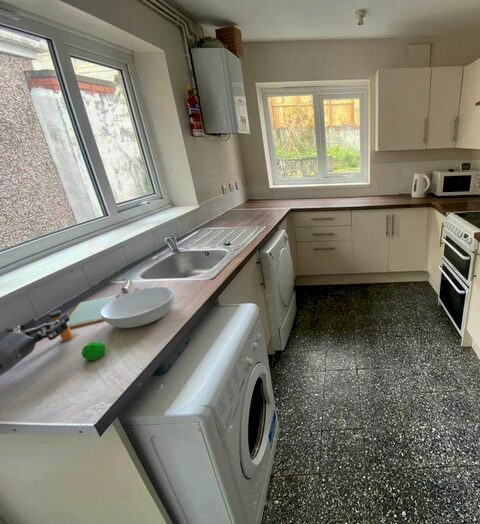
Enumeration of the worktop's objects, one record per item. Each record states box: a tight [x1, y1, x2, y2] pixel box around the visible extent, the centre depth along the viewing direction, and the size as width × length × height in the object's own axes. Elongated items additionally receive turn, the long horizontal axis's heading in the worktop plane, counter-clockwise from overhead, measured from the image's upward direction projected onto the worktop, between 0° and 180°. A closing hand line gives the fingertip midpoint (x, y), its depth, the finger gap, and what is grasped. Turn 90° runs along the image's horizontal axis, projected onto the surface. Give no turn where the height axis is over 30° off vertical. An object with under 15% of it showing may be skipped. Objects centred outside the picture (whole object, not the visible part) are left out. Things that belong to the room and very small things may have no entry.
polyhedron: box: [81, 341, 106, 361], centre depth 80 cm, size 5×5×5 cm
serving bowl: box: [100, 286, 175, 329], centre depth 99 cm, size 21×21×7 cm
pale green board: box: [67, 294, 119, 329], centre depth 105 cm, size 12×20×1 cm, turn 27°
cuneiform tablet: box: [120, 278, 136, 295], centre depth 116 cm, size 6×4×12 cm
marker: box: [48, 309, 75, 342], centre depth 88 cm, size 3×3×10 cm
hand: (50, 319), depth 85 cm, fingers open, 8 cm apart
